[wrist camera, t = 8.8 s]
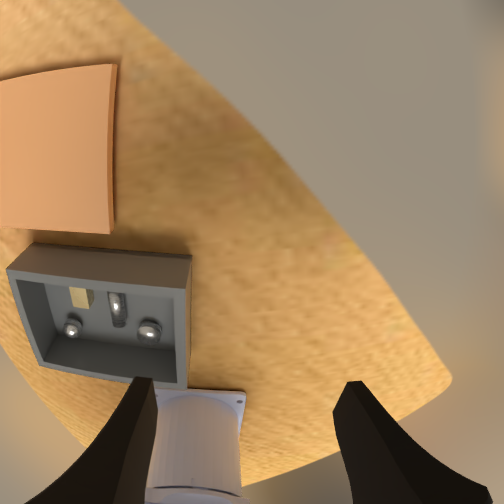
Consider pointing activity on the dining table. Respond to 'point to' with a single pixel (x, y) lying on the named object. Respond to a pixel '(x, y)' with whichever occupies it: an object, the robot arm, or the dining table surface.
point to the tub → (106, 311)
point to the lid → (58, 150)
